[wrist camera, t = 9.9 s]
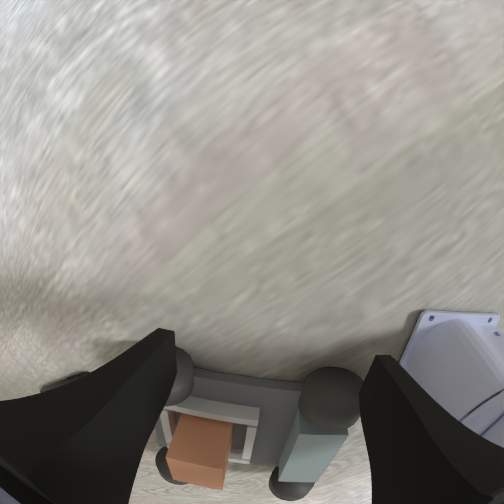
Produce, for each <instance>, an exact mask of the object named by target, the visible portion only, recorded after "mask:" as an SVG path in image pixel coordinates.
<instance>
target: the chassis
mask: <svg viewBox="0 0 504 504" xmlns="http://www.w3.org/2000/svg"><path fill="white" fill-rule="evenodd" d="M175 348H176V361H177V375H176V378H175V381H174V385H173V387H172V390H171V393H170V396H169V398H168V400H167V402H166V404H165V406H164V408H163V411H162V413H161V415H160V417H159V419H158V421H157V423H156V425H155V429H156V433H157V436H158V440H159V443H160V446H164V447H163V448H161V449H160V450H159V451H158V453H157V455H156V459H155V460H156V465H157V468H158V470H159V473H160V475H161V476H162V477H163V478H164V479H165V480H166V481H168V482H170V483H173V484H178V485H183V484H188V483H185V482H181V481H177V480H173V478H172V475H171V472H170V469H169V466H168V463H167V460H166V454H167V451H168V449H169V446H170V443H171V441H172V438H173V435H174V432H175V430H176V427H177V424H178V422H179V419H180V416H181V414H182V413H185V414H189V415H194V416H198V417H203V418H208V419H214V420H219V421H225V422H231V423H233V435H232V444H231V449H230V454H229V459H228V461H229V462H235V463H242V464H257V465H268V466H276V467H275V469H274V470H273V472H272V474H271V477H270V479H269V488H270V490H271V492H272V493H273V494H274V495H275V496H276V497H278V498H280V499H282V500H286V501H295V500H299V499H301V498H303V497H304V496H306V495H307V494H308V492H309V491H310V490H311V489H312V487H313V486H314V484H315V482H317V481H318V479H319V478H320V477H321V475H322V474H323V472H324V471H325V470H326V468H327V467H328V465H329V464H330V463H331V461H332V460H333V458H334V457H335V455H336V454H337V452H338V451H339V449H340V448H341V446H342V444H343V443H344V441H345V440H346V438H347V437H348V429H347V428H349V427H351V426H352V425H353V424H355V423H356V421H357V420H358V418H359V417H360V407H359V391H360V389H361V387H362V385H363V383H364V381H363V380H362V379H361V378H360V377H359V376H357V375H356V374H354V373H353V372H350V371H348V370H345V369H342V368H336V367H326V368H321V369H318V370H315V371H313V372H312V373H310V374H309V375H308V376H307V378H306V380H305V382H304V383H300V382H288V381H279V380H269V379H261V378H253V377H246V376H239V375H233V374H226V373H220V372H215V371H209V370H204V369H198V368H193V362H192V359H191V357H190V356H189V355H188V354H187V353H186V352H185V351H184V350H182V349H180V348H178V347H175Z"/></svg>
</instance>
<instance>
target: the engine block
mask: <svg viewBox="0 0 504 504" xmlns="http://www.w3.org/2000/svg"><path fill="white" fill-rule="evenodd" d="M232 435H233V423H231V422H225V421H219V420H214V419H208V418H203V417H198V416H194V415H189V414H185V413H182V414H181V416H180V419H179V422H178V424H177V427H176V430H175V432H174V435H173V438H172V441H171V443H170V446H169V449H168V451H167V454H166V460H167V463H168V466H169V469H170V472H171V475H172V478H173V480H177V481H181V482H185V483H190V484H194V485H199V486H204V487H209V488H214V489H220V490H222V489H223V484H224V479H225V474H226V469H227V464H228V459H229V454H230V449H231V444H232Z"/></svg>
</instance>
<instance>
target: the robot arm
mask: <svg viewBox="0 0 504 504" xmlns="http://www.w3.org/2000/svg"><path fill="white" fill-rule="evenodd" d="M430 316H432V317H431V318H429V317H430ZM499 320H500V315H499V314H497V313H473V312H452V311H434V310H425V311H423V312H422V313H421V314H420V316H419V318H418V321H417V323H416V326H415V328H414V330H413V333H412V335H411V337H410V340H409V342H408V344H407V347H406V349H405V351H404V353H403V355H402V358H401V360H400V362H399V363H398V362H397V361H396V360H395V359H394V358H393V357H392V356H391V355H376V356H375V358H374V360H373V363H372V365H371V367H370V370H369V372H368V374H367V376H366V378H365V381H364V383H363V385H362V387H361V389H360V391H359V407H360V417H361V422H362V427H363V432H364V437H365V441H366V446H367V451H368V456H369V461H370V468H371V480H372V504H504V333H503V332H502V331H501V330H500V329H499V328H498V327H497V324H498V322H499ZM176 375H177V361H176V348H175V333H174V331H171V330H166V329H161V328H158V329H156V330H155V331H153V332H152V333H151V334H149V335H148V336H146V337H145V338H144V339H142V340H141V341H139V342H138V343H137V344H135V345H134V346H132V347H131V348H129V349H128V350H126V351H125V352H124V353H122V354H121V355H119V356H118V357H116V358H115V359H113V360H111V361H110V362H108V363H106V364H105V365H103V366H101V367H100V368H98V369H96V370H95V371H93V372H91V373H89V374H87V375H85V376H83V377H81V378H79V379H77V380H74V381H72V382H70V383H68V384H65V385H62V386H60V387H57V388H54V389H51V390H48V391H46V392H42V393H39V394H35V395H32V396H27V397H23V398H18V399H12V400H5V401H0V504H128V503H129V498H130V494H131V491H132V487H133V483H134V480H135V476H136V473H137V470H138V467H139V463H140V460H141V457H142V454H143V451H144V449H145V446H146V444H147V442H148V439H149V437H150V435H151V433H152V431H153V429H154V427H155V425H156V423H157V421H158V419H159V417H160V415H161V413H162V411H163V408H164V406H165V404H166V402H167V400H168V398H169V396H170V393H171V390H172V387H173V385H174V381H175V378H176Z"/></svg>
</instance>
